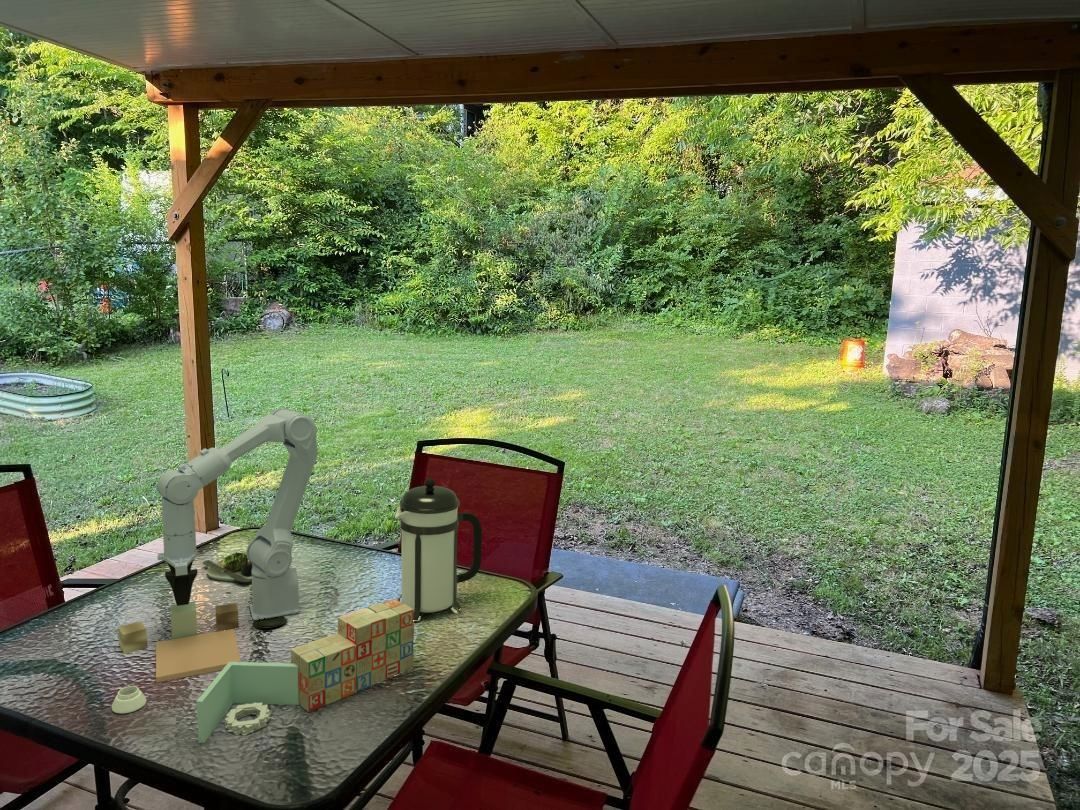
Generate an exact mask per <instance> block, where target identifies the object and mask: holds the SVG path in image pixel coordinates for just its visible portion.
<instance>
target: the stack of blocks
mask: <svg viewBox="0 0 1080 810" xmlns="http://www.w3.org/2000/svg"><path fill="white" fill-rule="evenodd" d="M400 601H401V600H400ZM400 601H398V599H395V598H393V599H389V600H387V601H384V602H378V603H375V604H372V605H369V606H367V607H364V608H361V609H358V610H355V611H352V612H349V613H346V614H343V615H340V616H338V617H337V632H336V633H333V634H330V635H328V636H325V637H322V638H318V639H316V640H312V641H310V642H307V643H305V644H302V645H298V646H295V647H293V648H291V649H290V663H294V664H296V665H297V666H298V688H299V706H301V707H302V708H303V709H304V710H305V711H307V712H312V711H315V710H316V709H319V708H321V707H323V706H327V705H330V704H332V703H335V702H337V701H339V700H341V699H345V698H347V697H349V696H352V695H353V694H354V693H355V694H357V693H358V691H359V692H361V691H363V690H362V689H364V688H366V689H368V688H367V687H369V686H371V687H373V686H375V685H374V684H376V683H378V682H380V683H382V682H381V681H383V680H385V679H387V678H390V677H392V676H394V675H397V674H399V673H400V672H403V671H405V670H407V669H409V668H411V667H413V668H414V639H415V624H414V622H413V619H414V610H413V609H412V608H411V607H409V606H407V605H406V604H403V602H402V601H401V602H400ZM385 681H386V680H385ZM383 682H384V681H383ZM378 684H379V683H378ZM372 685H373V686H372ZM376 685H377V684H376ZM369 688H370V687H369ZM360 690H361V691H360ZM364 690H365V689H364Z"/></svg>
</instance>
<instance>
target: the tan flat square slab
mask: <svg viewBox="0 0 1080 810" xmlns="http://www.w3.org/2000/svg"><path fill="white" fill-rule="evenodd" d="M236 636H237V635H236V632H235V629H230V630H225V631H219V632H217V631H214V632H208V633H203V634H197V635H196V636H190V637H184V638H178V639H172V638H171V639H168V640H162V641H161V640H160V641H156V642H155V683H162V682H166V681H172V680H178V679H181V678H187V677H194V676H197V675H203V674H208V673H213V672H219V671H222V670H223V669H224V667H225V666H226V665H227V664H228V662H242V661H241V656H240V651H239V647H238V642H237V637H236Z"/></svg>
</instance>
